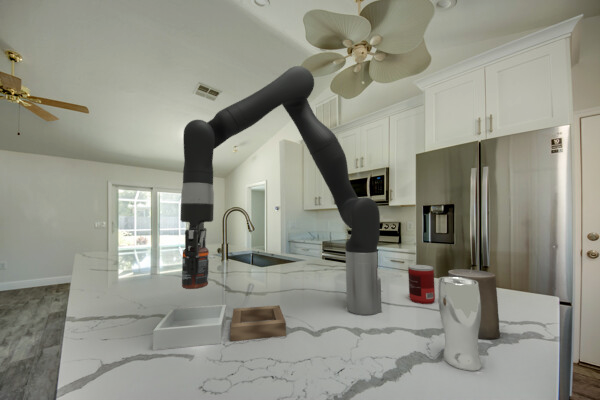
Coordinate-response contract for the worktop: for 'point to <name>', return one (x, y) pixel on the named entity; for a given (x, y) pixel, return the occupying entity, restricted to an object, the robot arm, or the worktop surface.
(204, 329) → the grey tray
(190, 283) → the supplement bottle
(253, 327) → the walnut collar
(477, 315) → the beer glass
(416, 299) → the canned food
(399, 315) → the worktop surface
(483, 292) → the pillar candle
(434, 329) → the worktop surface
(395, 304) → the worktop surface
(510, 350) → the worktop surface
